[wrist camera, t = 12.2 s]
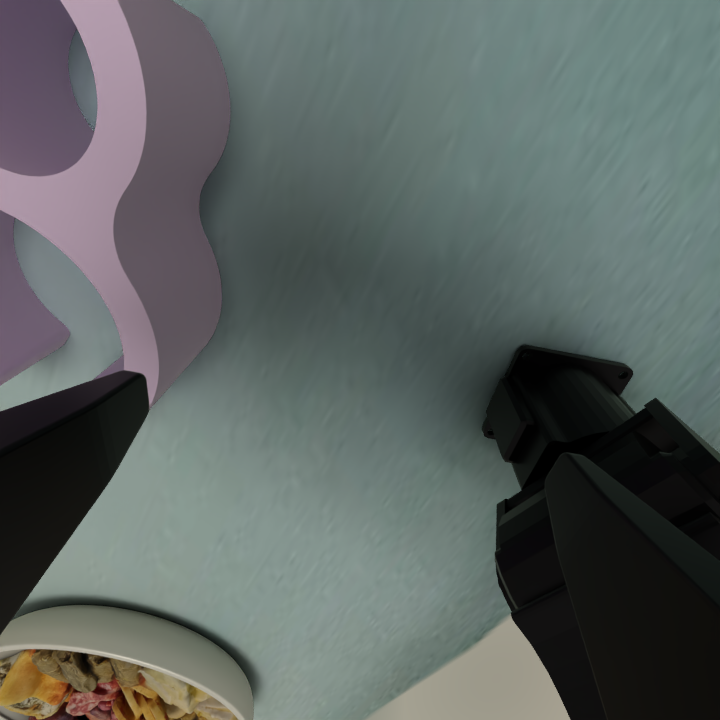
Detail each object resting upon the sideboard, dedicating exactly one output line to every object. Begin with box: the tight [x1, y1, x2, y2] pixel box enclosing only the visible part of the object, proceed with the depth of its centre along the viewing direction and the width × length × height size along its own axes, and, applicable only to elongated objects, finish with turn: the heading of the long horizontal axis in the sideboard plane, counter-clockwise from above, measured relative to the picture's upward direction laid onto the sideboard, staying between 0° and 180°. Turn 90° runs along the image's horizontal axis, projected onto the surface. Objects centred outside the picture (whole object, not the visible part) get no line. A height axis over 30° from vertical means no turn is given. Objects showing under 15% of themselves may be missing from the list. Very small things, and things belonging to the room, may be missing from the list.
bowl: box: [0, 605, 254, 720], centre depth 42 cm, size 30×30×8 cm
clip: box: [0, 0, 230, 410], centre depth 17 cm, size 20×12×7 cm, turn 154°
